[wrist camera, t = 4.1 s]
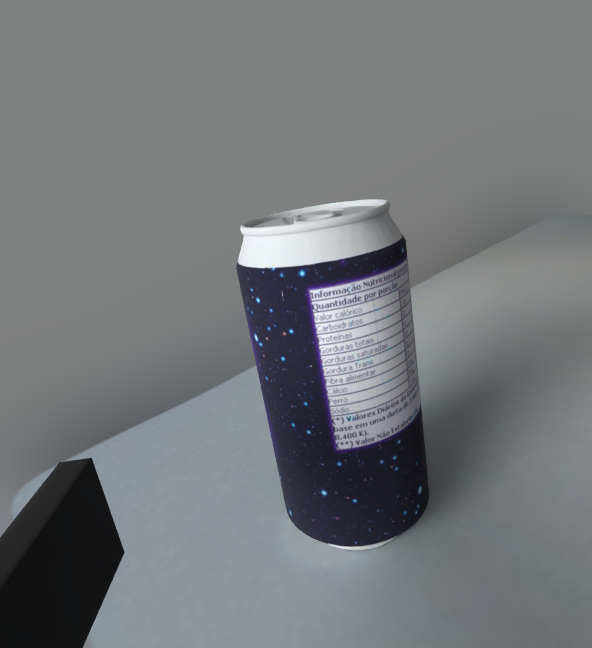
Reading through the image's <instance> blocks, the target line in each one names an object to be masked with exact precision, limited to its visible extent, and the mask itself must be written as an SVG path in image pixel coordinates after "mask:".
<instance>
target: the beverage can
mask: <svg viewBox="0 0 592 648" xmlns="http://www.w3.org/2000/svg"><path fill="white" fill-rule="evenodd" d="M389 207H390V204H389V202H388V201H386V200H380V199H376V200H375V199H372V200H356V201H346V202H338V203H331V204H324V205H318V206H311V207H306V208H301V209H295V210H290V211H286V212H281V213H276V214H272V215H268V216H264V217H260V218H257V219H254V220H251V221H248V222H246V223H244V224H242V225H241V232H242V233H243V234H244V240H243V244H242V248H241V251H240V255H239V258H238V262H237V273H238V278H239V283H240V287H241V292H242V297H243V302H244V307H245V312H246V316H247V321H248V326H249V331H250V336H251V341H252V346H253V350H254V355H255V360H256V365H257V370H258V374H259V379H260V384H261V389H262V394H263V399H264V403H265V408H266V413H267V418H268V423H269V428H270V432H271V437H272V442H273V447H274V452H275V456H276V461H277V466H278V471H279V476H280V481H281V485H282V490H283V495H284V500H285V505H286V509H287V513H288V515H289V517H290V519H291V521H292V522H293V523H294V525H295V526H296V527H297V528H298V529H299V530H301V531H302V532H303V533H305V534H306V535H308V536H310V537H312V538H314V539H316V540H319V541H321V542H324V543H327V544H329V545H331V546H333V547H337V548H340V549H347V550H366V549H371V548H376V547H379V546H381V545H384V544H386V543H388V542H390V541H392V540H393V539H395V538H396V537H398V536H399V535H400V534H401V533H403V532H404V531H406V530H407V529H409V528H410V527H411V526H413V525H414V524H415V523H416V522H417V521H418V520H419V518H420V517H421V516H422V514H423V513H424V511H425V509H426V507H427V504H428V500H429V487H428V476H427V465H426V454H425V444H424V433H423V422H422V411H421V401H420V390H419V379H418V368H417V357H416V347H415V336H414V325H413V314H412V304H411V293H410V282H409V271H408V263H407V262H408V260H407V250H406V240H405V238H404V237H403V235H402V233H401V232H400V230H399V229H398V227H397V226H396V224H395V223H394V221H393V220H392V218H391V216H390V214H389V212H388V210H389Z"/></svg>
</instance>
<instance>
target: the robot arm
mask: <svg viewBox="0 0 592 648" xmlns="http://www.w3.org/2000/svg"><path fill="white" fill-rule="evenodd" d="M123 555H124V549H123V546H122V544H121V541H120V538H119V535H118V532H117V529H116V526H115V524H114V521H113V518H112V515H111V512H110V509H109V506H108V504H107V501H106V498H105V495H104V492H103V489H102V486H101V484H100V481H99V478H98V475H97V472H96V469H95V466H94V464H93V461H92V458H87V459H80V460H74V461H67V462H60V463H59V464H58V465H57V466H56V468H55V469H54V470H53V471H52V473H51V474H50V475H49V477H48V478H47V479H46V480H45V482H44V483H43V484H42V485H41V487H40V488H39V489H38V490H37V492H36V493H35V494H34V496H33V497H32V498H31V499H30V501H29V502H28V503H27V504H26V506H25V507H24V508H23V509H22V511H21V512H20V513H19V515H18V516H17V517H16V518H15V520H14V521H13V522H12V523H11V525H10V526H9V527H8V528H7V530H6V531H5V532H4V534H3V535H2V536H1V537H0V648H83V646H84V643H85V641H86V639H87V637H88V634H89V632H90V630H91V627H92V625H93V623H94V621H95V618H96V616H97V614H98V611H99V609H100V607H101V605H102V602H103V600H104V598H105V596H106V593H107V591H108V589H109V586H110V584H111V582H112V580H113V577H114V575H115V573H116V571H117V568H118V566H119V564H120V561H121V559H122V557H123Z"/></svg>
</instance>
